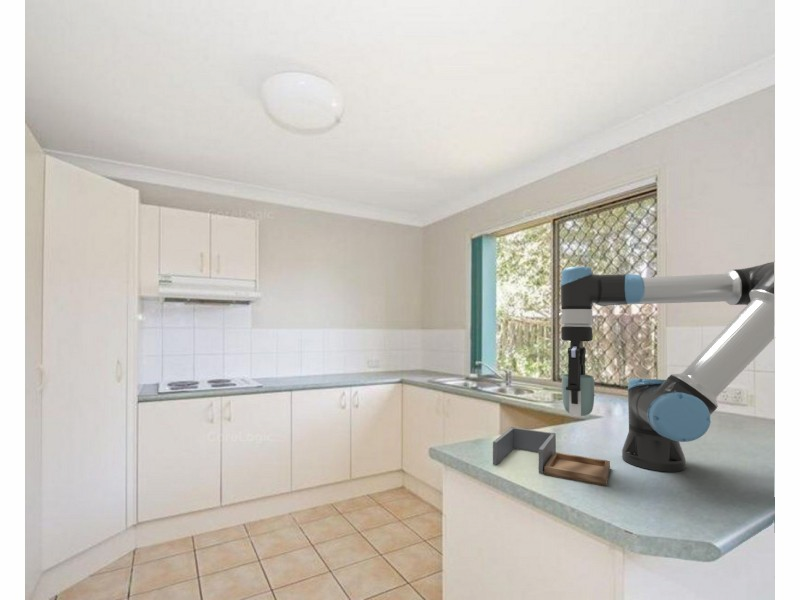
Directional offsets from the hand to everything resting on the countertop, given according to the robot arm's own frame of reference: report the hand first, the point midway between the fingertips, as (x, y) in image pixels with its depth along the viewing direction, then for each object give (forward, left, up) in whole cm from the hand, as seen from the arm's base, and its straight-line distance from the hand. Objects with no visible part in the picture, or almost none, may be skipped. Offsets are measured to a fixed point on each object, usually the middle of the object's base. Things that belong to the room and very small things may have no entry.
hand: (577, 413), depth 109 cm
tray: (0, 0, -15) cm, 15 cm away
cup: (0, 0, -1) cm, 1 cm away
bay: (+14, -2, -15) cm, 21 cm away
